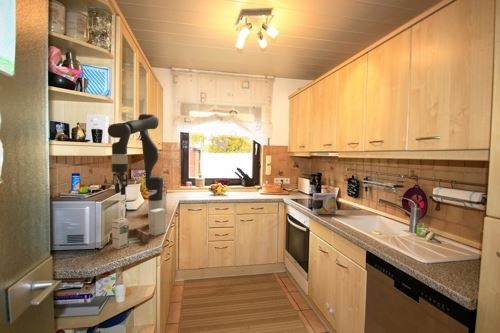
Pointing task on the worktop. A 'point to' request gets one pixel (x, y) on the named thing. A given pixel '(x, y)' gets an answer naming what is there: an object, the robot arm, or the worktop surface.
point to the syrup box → (120, 233)
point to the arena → (135, 236)
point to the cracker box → (162, 197)
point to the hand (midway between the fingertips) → (120, 193)
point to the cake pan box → (324, 203)
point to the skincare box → (157, 221)
